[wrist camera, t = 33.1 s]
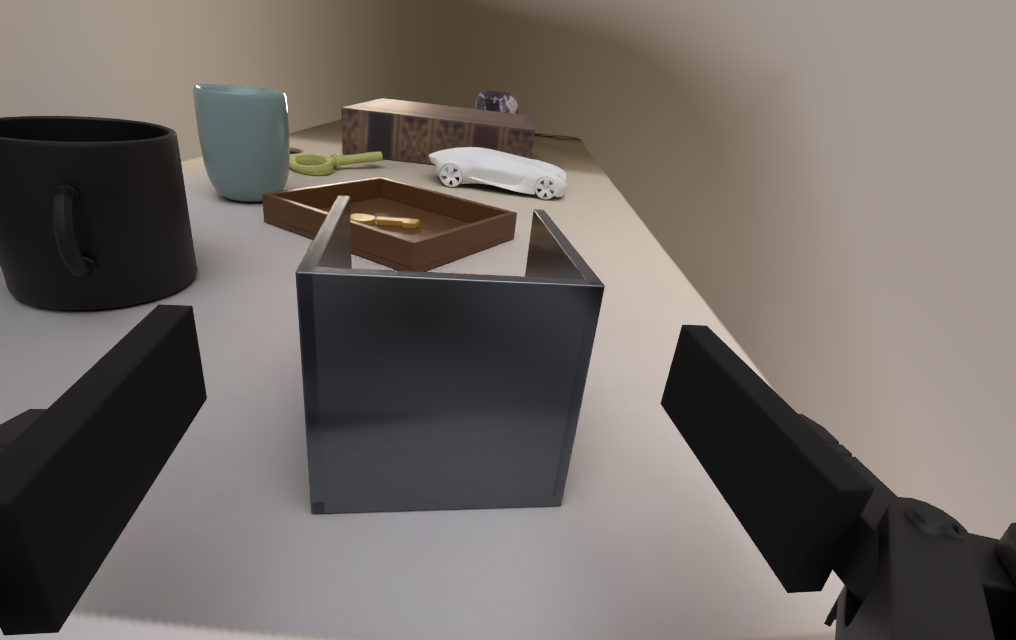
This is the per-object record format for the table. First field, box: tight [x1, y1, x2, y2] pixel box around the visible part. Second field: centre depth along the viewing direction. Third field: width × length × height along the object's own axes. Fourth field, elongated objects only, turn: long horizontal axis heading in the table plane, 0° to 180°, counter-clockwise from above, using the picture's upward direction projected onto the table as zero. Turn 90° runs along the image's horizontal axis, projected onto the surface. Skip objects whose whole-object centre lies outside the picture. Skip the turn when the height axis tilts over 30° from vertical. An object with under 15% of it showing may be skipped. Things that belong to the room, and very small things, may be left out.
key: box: [289, 152, 383, 175], centre depth 71 cm, size 7×12×2 cm, turn 146°
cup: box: [193, 84, 290, 202], centre depth 52 cm, size 8×8×10 cm
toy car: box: [429, 147, 566, 200], centre depth 70 cm, size 18×8×4 cm, turn 84°
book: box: [342, 98, 535, 166], centre depth 90 cm, size 24×28×7 cm
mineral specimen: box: [474, 91, 518, 114], centre depth 116 cm, size 10×10×10 cm
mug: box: [0, 116, 197, 310], centre depth 30 cm, size 9×12×9 cm
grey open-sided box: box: [296, 196, 605, 514], centre depth 22 cm, size 9×9×9 cm
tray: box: [262, 177, 517, 272], centre depth 48 cm, size 17×14×2 cm
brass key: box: [350, 214, 419, 229], centre depth 49 cm, size 6×2×1 cm, turn 99°
